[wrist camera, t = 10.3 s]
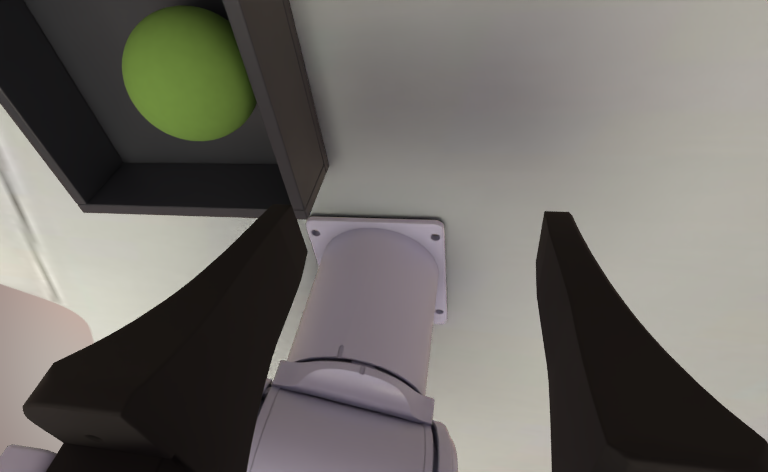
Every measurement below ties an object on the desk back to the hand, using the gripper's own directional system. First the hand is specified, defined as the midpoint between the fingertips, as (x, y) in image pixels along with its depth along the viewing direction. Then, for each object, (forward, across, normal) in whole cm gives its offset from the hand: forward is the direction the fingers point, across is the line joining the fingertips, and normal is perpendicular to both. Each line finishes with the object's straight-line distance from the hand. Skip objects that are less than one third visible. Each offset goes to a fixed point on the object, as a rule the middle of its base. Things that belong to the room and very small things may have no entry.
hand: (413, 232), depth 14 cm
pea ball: (+7, +12, -3) cm, 14 cm away
